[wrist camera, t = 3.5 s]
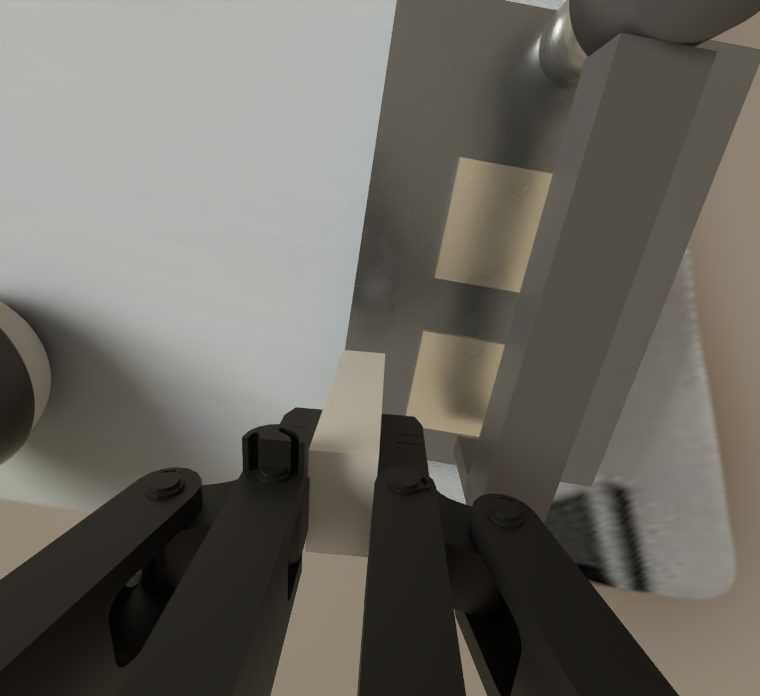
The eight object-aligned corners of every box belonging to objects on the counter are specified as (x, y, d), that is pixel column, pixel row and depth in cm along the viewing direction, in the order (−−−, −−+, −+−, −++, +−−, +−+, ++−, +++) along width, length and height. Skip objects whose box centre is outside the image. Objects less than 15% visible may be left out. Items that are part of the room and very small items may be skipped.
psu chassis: (400, -8, 17) (404, -115, 11) (729, 55, 18) (896, -18, 12) (335, 425, 24) (317, 497, 18) (575, 464, 24) (633, 547, 18)
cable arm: (560, -60, 13) (666, -224, 8) (681, -36, 14) (860, -184, 8) (436, 448, 20) (452, 536, 14) (520, 461, 20) (565, 554, 15)
